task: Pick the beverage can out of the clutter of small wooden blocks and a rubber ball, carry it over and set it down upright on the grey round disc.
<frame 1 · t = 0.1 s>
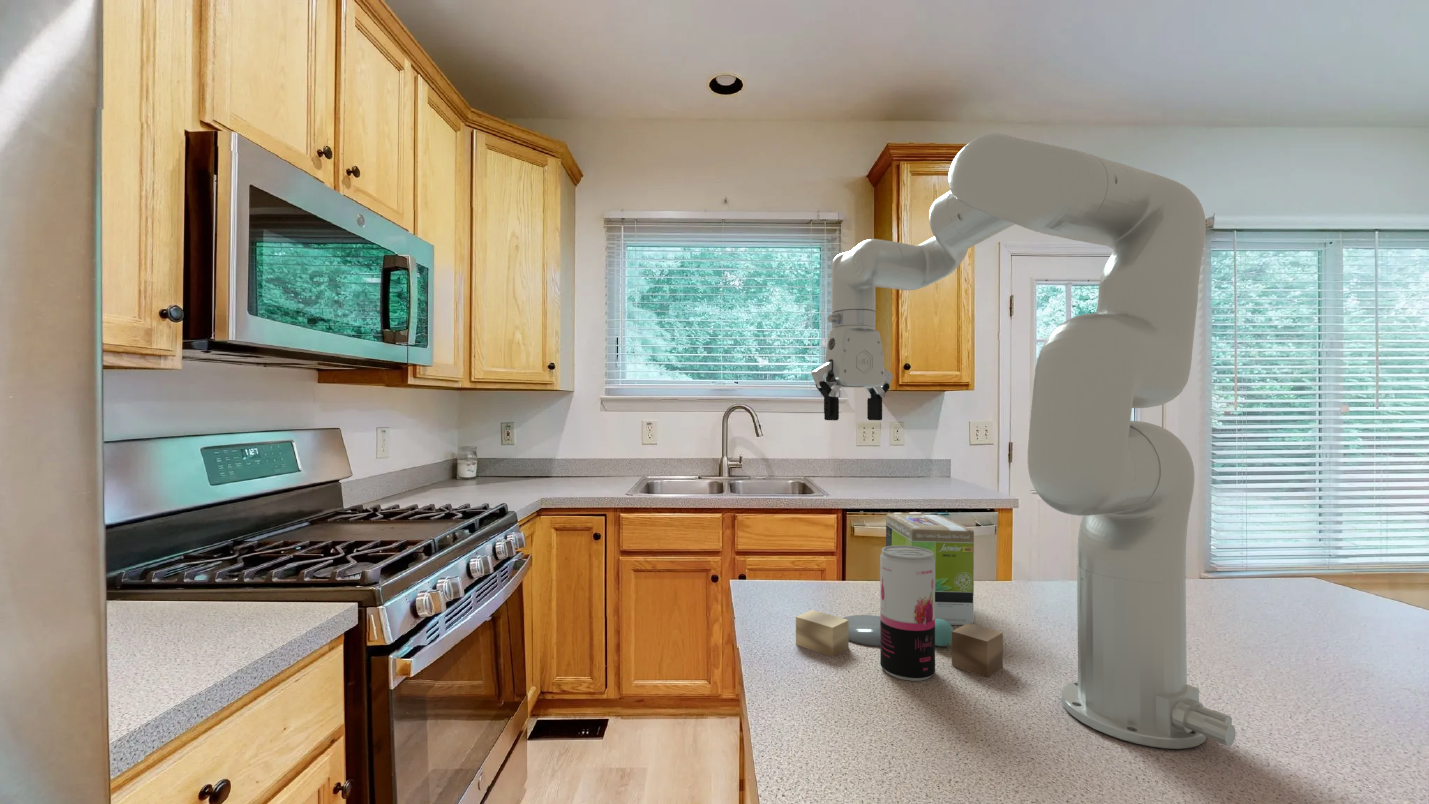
hand: (853, 420, 103), 31 cm above the countertop, tool pointing down, fingers open, 9 cm apart
grey round disc: (872, 631, 87), on the countertop
teal rubber ball: (939, 632, 82), point 2 cm above the countertop
beverage can: (907, 672, 74), on the countertop
walnut cube: (977, 667, 75), on the countertop
tea box: (926, 610, 97), on the countertop
oak block: (822, 647, 81), on the countertop
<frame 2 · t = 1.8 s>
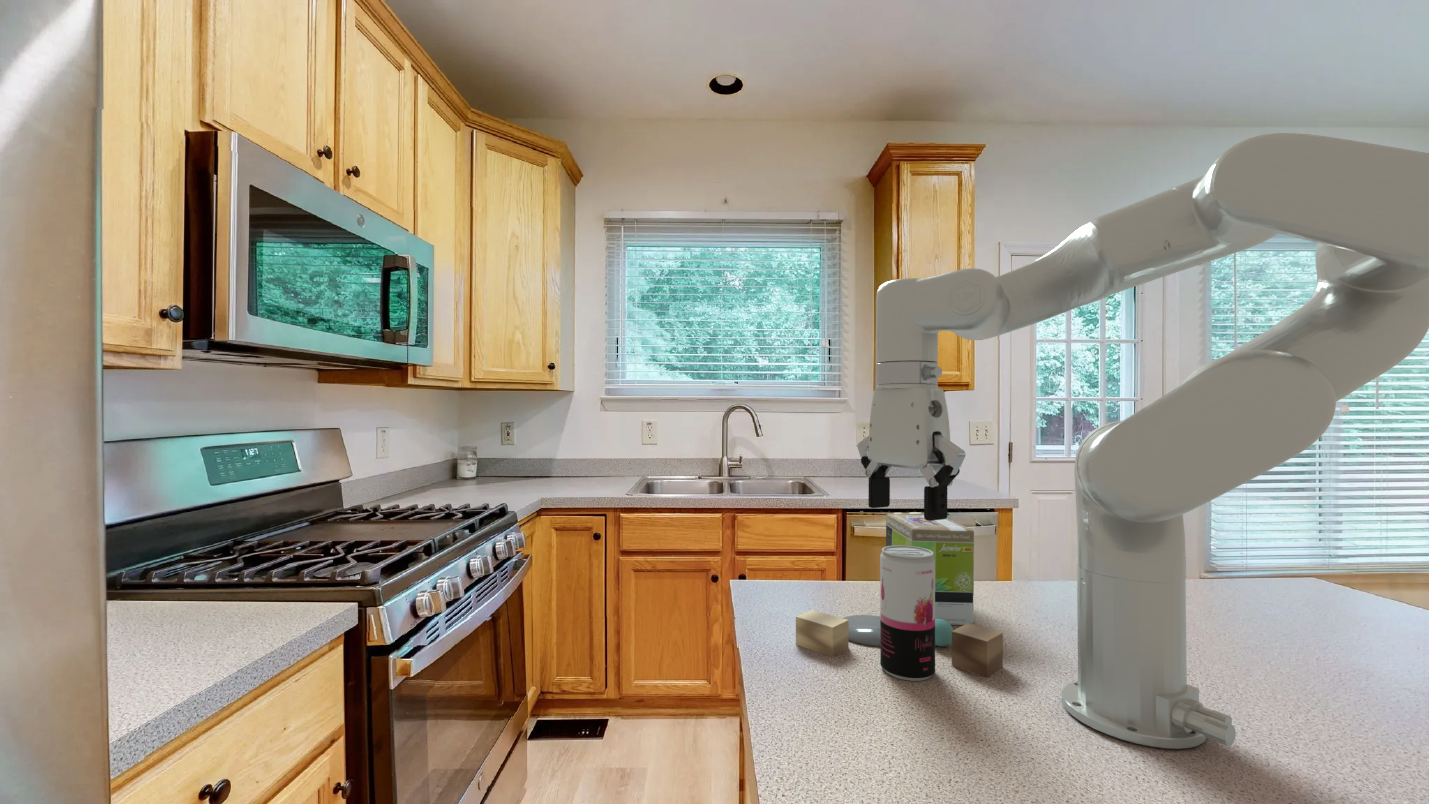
hand: (905, 512, 74), 20 cm above the countertop, tool pointing down, fingers open, 9 cm apart
nothing on the countertop moved.
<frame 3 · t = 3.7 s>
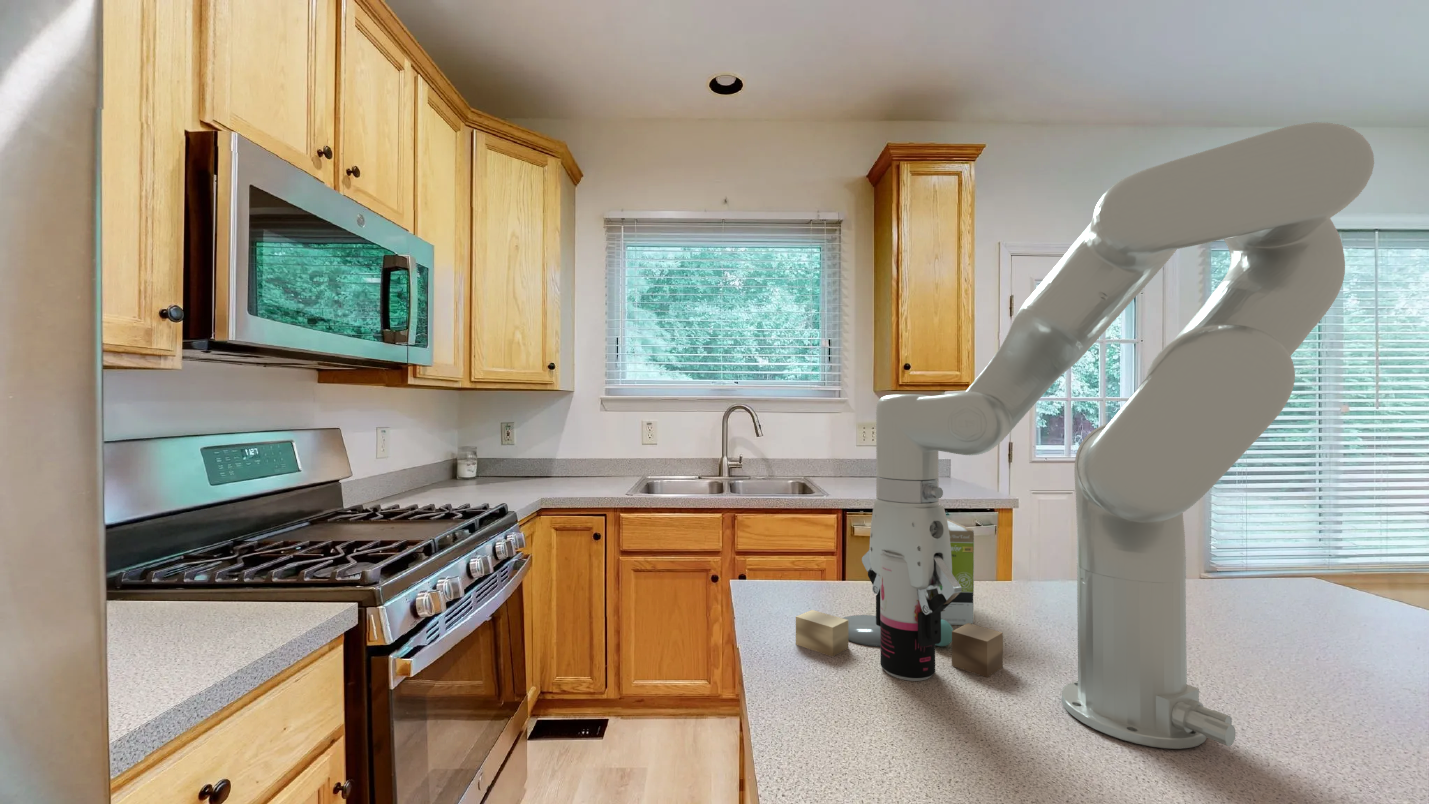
hand: (907, 632, 74), 5 cm above the countertop, tool pointing down, fingers closed on beverage can, 6 cm apart
beverage can: (907, 672, 74), on the countertop, touching gripper
everything else where it was.
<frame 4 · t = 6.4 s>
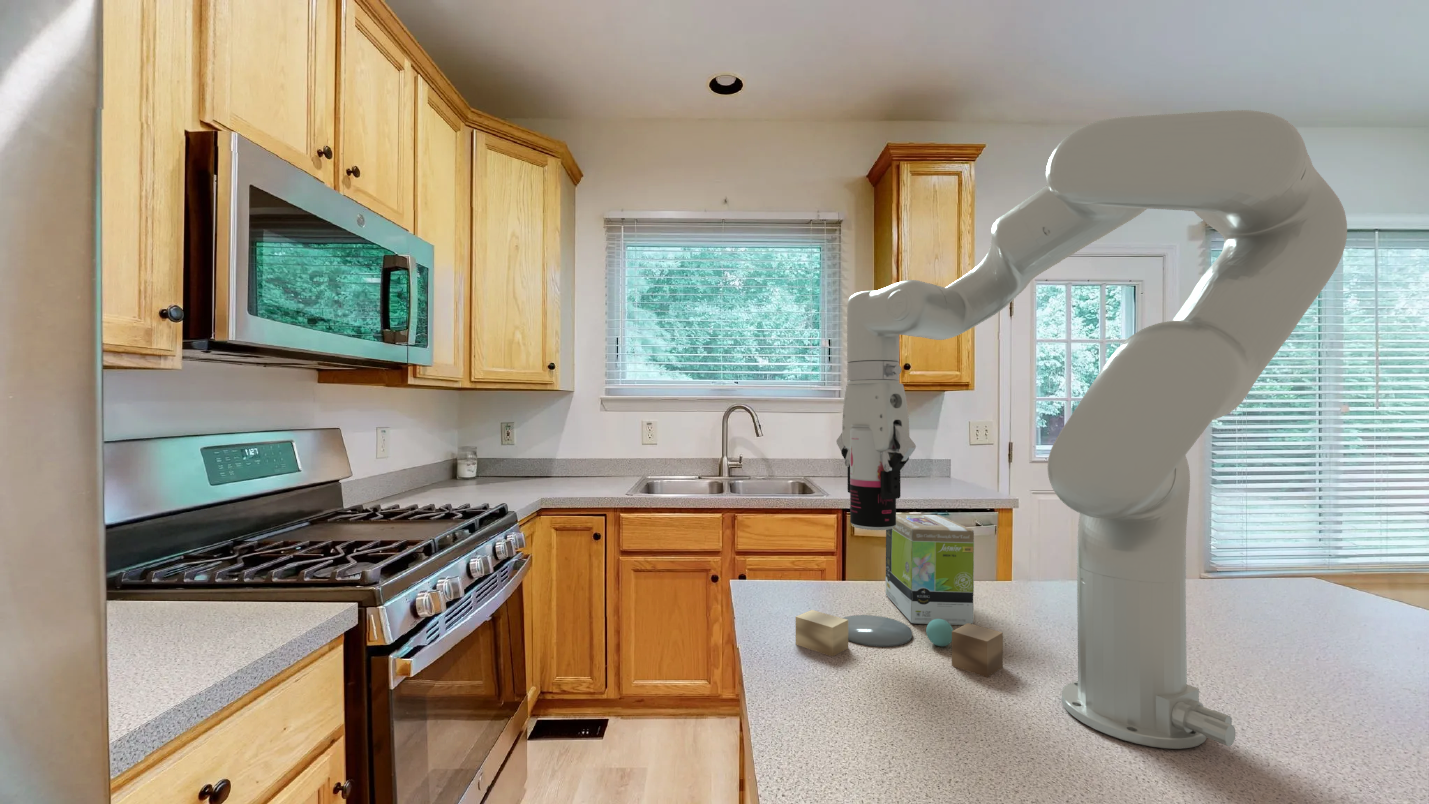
hand: (873, 494, 87), 20 cm above the countertop, tool pointing down, fingers closed on beverage can, 6 cm apart
beverage can: (872, 527, 87), point 15 cm above the countertop, touching gripper
everything else where it was.
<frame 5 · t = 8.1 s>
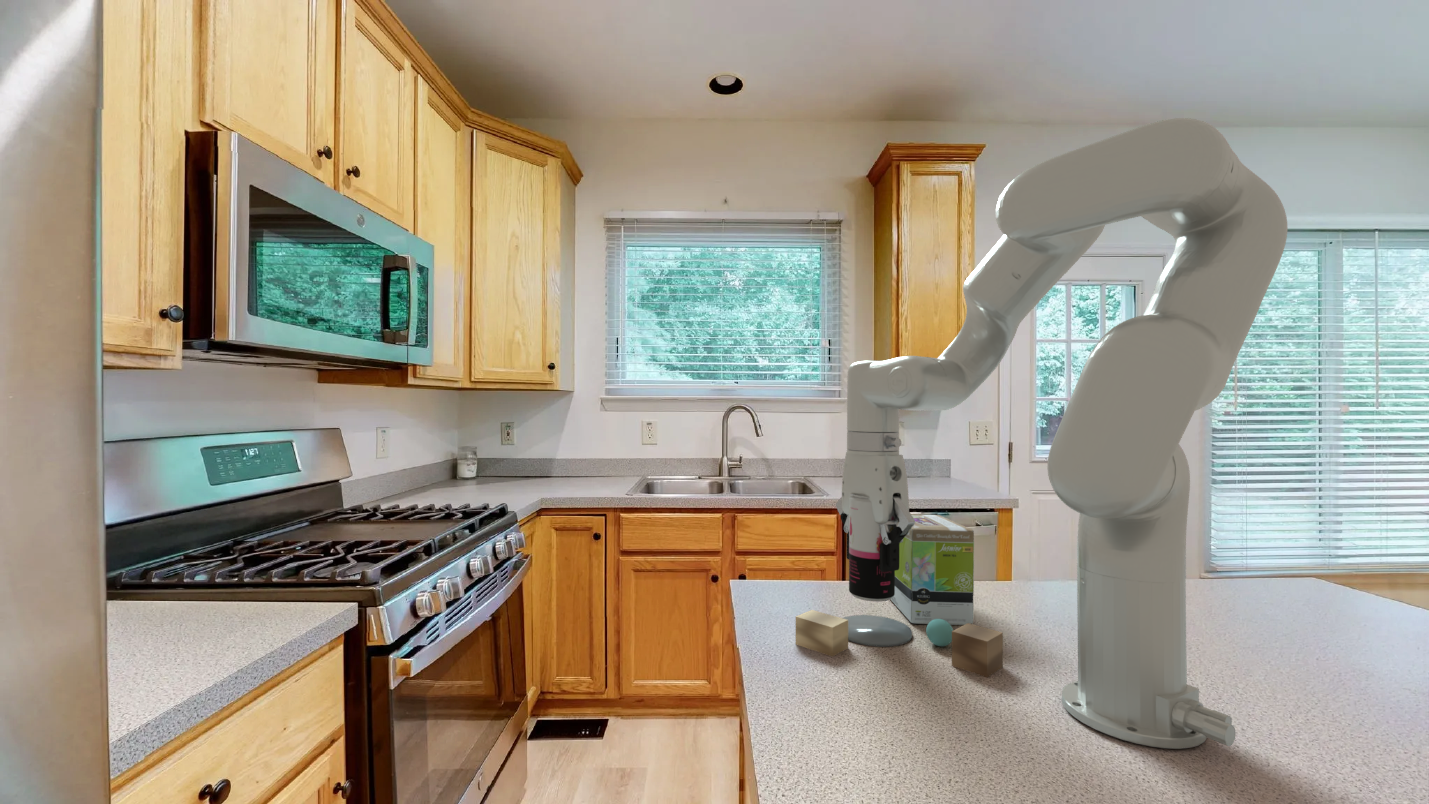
hand: (872, 563, 87), 10 cm above the countertop, tool pointing down, fingers closed on beverage can, 6 cm apart
beverage can: (871, 596, 87), point 5 cm above the countertop, touching gripper
everything else where it was.
when the fingers open (7 cm above the countertop, at t = 9.3 s): beverage can drops 1 cm, resting on grey round disc.
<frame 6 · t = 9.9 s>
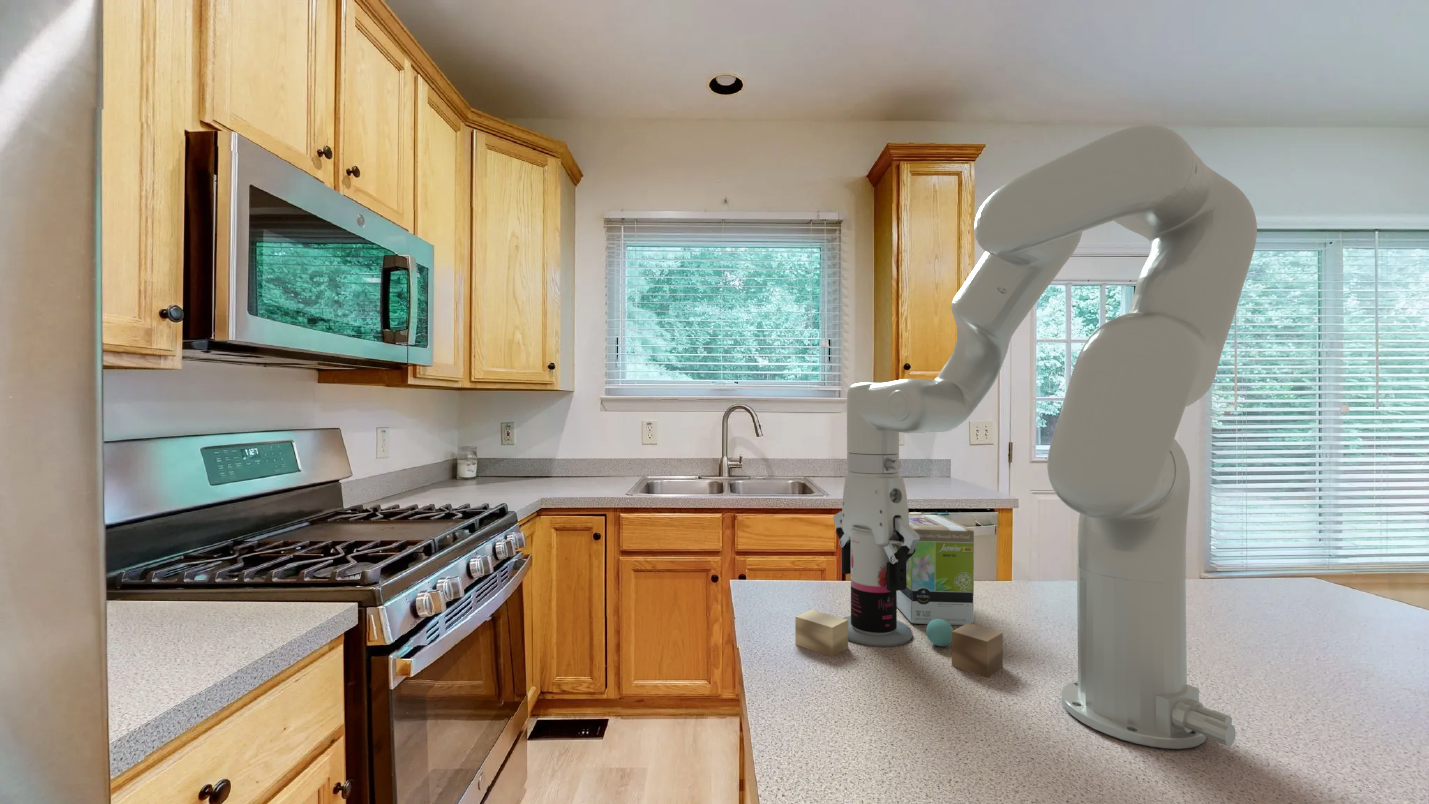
hand: (872, 580, 87), 8 cm above the countertop, tool pointing down, fingers open, 9 cm apart
beverage can: (873, 629, 87), resting on grey round disc
everything else where it was.
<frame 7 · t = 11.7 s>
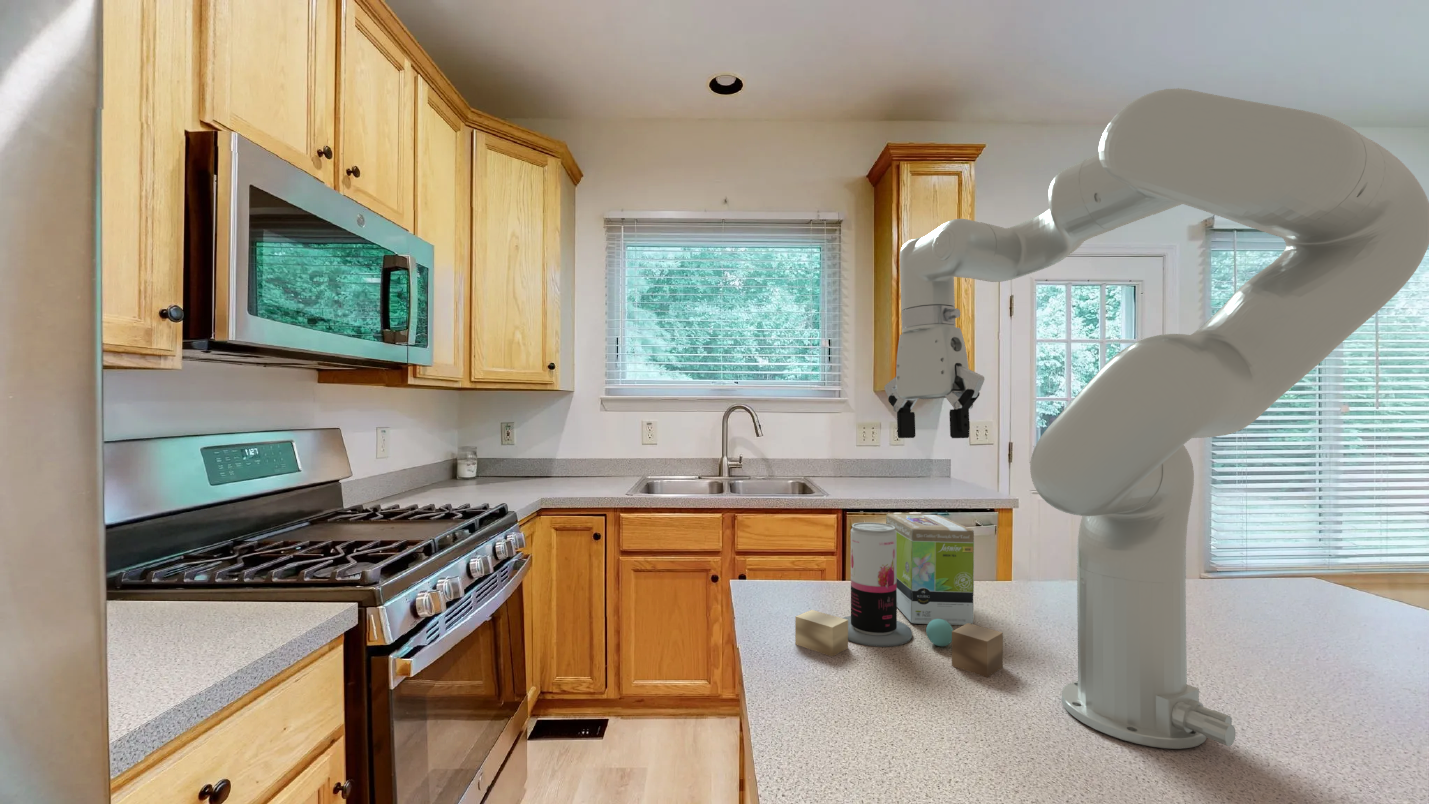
hand: (932, 437, 86), 29 cm above the countertop, tool pointing down, fingers open, 9 cm apart
nothing on the countertop moved.
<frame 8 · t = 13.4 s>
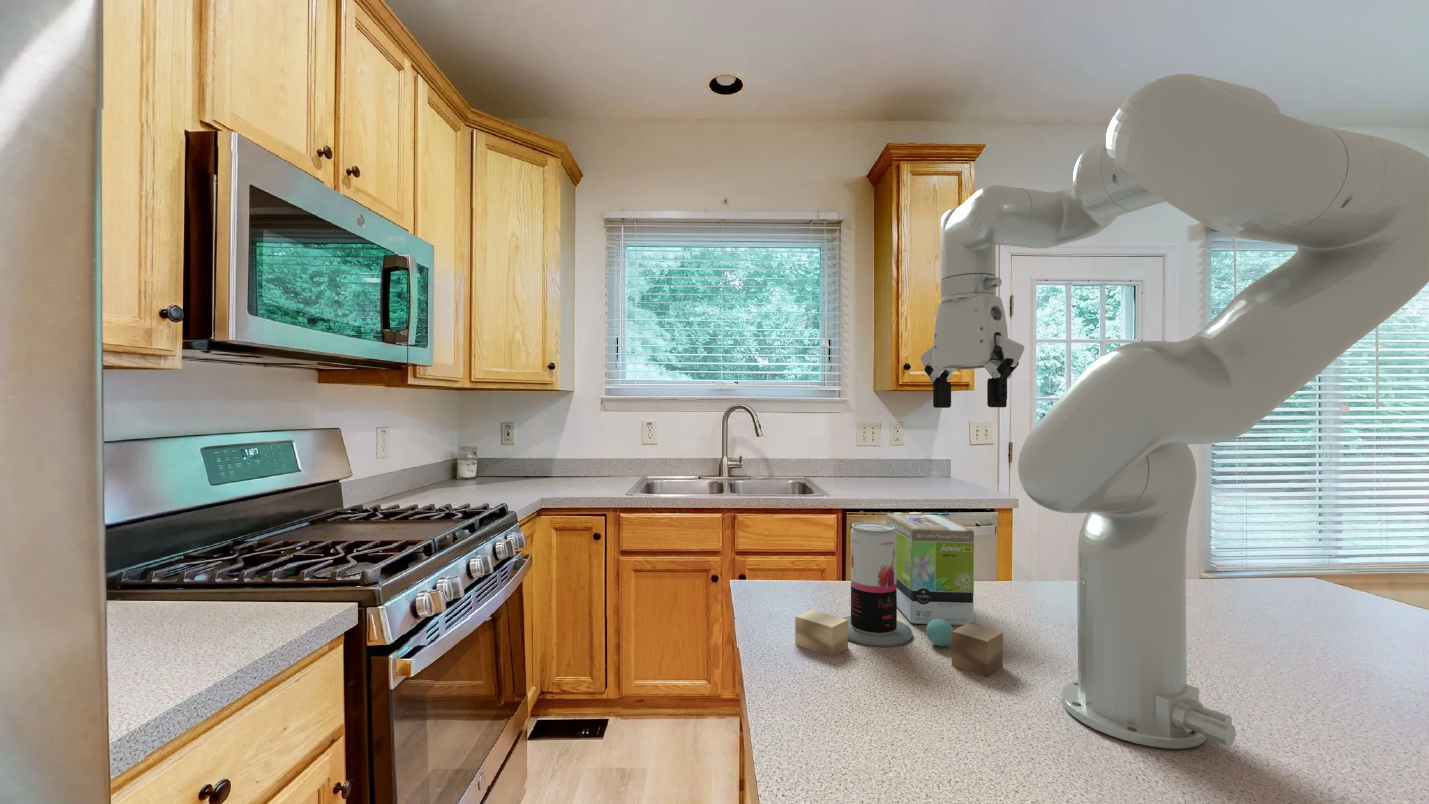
hand: (968, 407, 86), 33 cm above the countertop, tool pointing down, fingers open, 9 cm apart
nothing on the countertop moved.
at the end: beverage can 0.1 cm from the grey round disc (horizontally); beverage can tilted 0°; the gripper is holding nothing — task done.
